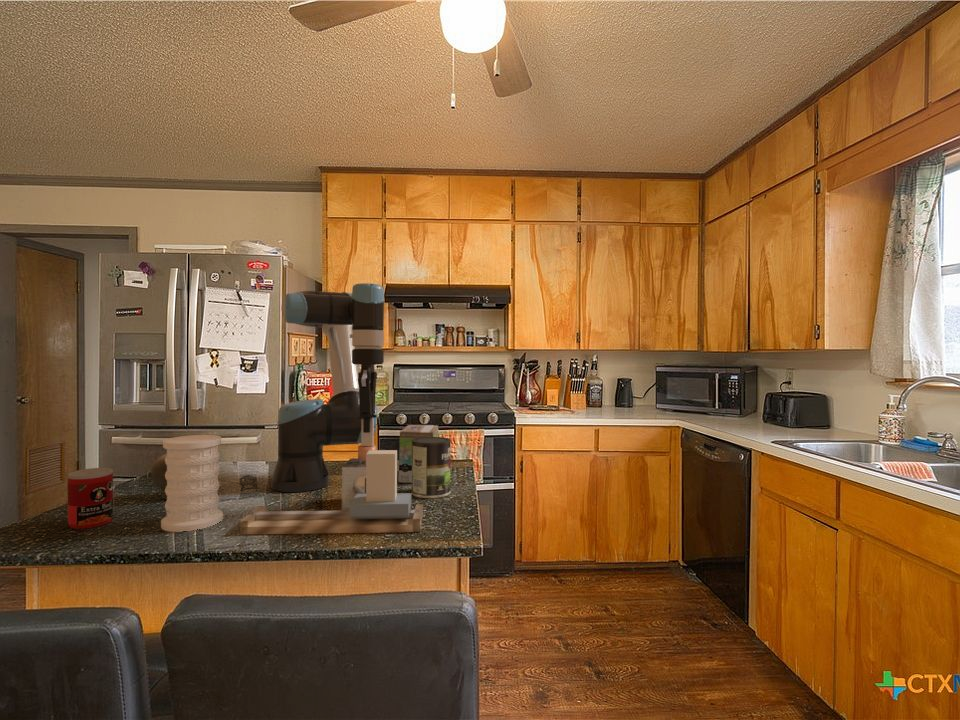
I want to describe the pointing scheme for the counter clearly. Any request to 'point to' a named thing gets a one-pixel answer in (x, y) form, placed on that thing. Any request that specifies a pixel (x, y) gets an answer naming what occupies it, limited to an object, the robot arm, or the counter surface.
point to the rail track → (325, 522)
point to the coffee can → (431, 467)
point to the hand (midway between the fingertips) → (367, 445)
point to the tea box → (406, 447)
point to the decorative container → (192, 483)
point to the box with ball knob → (353, 481)
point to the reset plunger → (364, 451)
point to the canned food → (90, 498)
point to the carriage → (381, 489)
